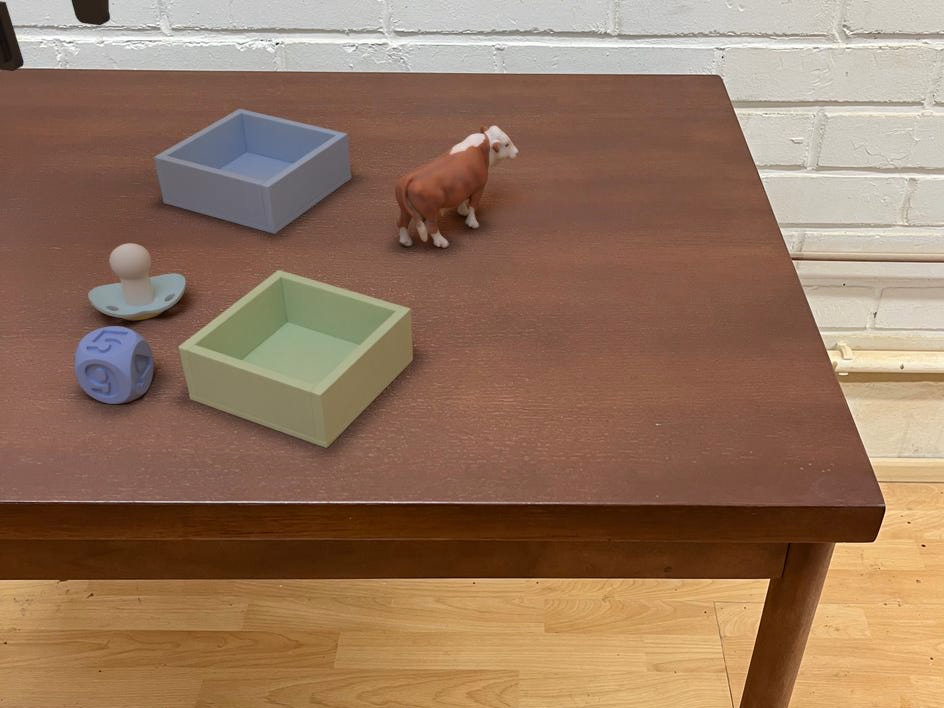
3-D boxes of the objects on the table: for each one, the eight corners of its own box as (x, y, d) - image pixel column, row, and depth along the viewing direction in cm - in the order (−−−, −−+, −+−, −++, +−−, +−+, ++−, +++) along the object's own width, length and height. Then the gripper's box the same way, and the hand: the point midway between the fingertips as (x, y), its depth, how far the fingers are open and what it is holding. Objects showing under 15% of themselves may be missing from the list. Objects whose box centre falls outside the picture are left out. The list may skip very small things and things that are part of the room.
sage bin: (189, 399, 71) (177, 346, 68) (285, 319, 79) (278, 269, 76) (326, 448, 67) (320, 395, 64) (413, 359, 75) (411, 308, 72)
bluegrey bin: (163, 203, 93) (153, 156, 90) (246, 152, 102) (239, 108, 99) (274, 234, 89) (267, 186, 86) (351, 178, 98) (347, 133, 95)
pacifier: (90, 299, 81) (99, 335, 77) (69, 227, 77) (77, 261, 73) (181, 281, 83) (195, 316, 79) (166, 211, 79) (179, 243, 75)
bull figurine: (523, 213, 93) (527, 126, 87) (416, 265, 85) (412, 174, 80) (489, 197, 95) (491, 111, 89) (382, 246, 88) (376, 157, 82)
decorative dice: (158, 373, 74) (146, 327, 71) (137, 407, 71) (124, 360, 68) (105, 369, 74) (92, 323, 71) (83, 402, 71) (68, 355, 68)
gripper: (-5, -294, 58) (74, 4, 69) (-208, -267, 48) (-79, 77, 59) (104, -292, 56) (168, 15, 67) (-84, -263, 46) (26, 93, 57)
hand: (52, 44), depth 63 cm, fingers open, 8 cm apart
